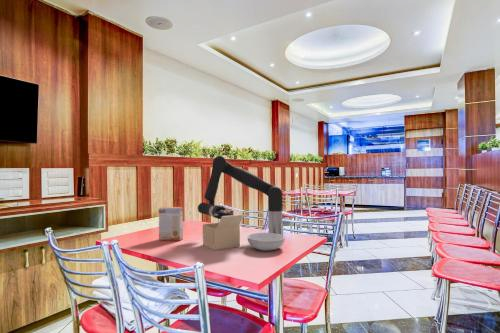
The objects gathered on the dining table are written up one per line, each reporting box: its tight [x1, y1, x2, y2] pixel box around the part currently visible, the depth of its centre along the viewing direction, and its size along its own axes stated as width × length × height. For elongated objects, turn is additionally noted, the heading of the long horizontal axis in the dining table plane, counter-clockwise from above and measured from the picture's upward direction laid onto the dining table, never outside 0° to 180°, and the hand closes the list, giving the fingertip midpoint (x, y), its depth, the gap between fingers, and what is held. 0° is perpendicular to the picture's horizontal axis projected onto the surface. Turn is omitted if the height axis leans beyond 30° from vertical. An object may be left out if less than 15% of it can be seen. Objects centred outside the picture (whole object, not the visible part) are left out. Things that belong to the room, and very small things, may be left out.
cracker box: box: [158, 206, 184, 242], centre depth 182 cm, size 14×6×21 cm, turn 84°
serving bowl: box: [247, 232, 286, 252], centre depth 160 cm, size 21×21×7 cm
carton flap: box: [217, 213, 245, 229], centre depth 157 cm, size 10×14×1 cm
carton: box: [202, 221, 241, 252], centre depth 167 cm, size 17×17×12 cm
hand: (231, 215), depth 156 cm, fingers closed
